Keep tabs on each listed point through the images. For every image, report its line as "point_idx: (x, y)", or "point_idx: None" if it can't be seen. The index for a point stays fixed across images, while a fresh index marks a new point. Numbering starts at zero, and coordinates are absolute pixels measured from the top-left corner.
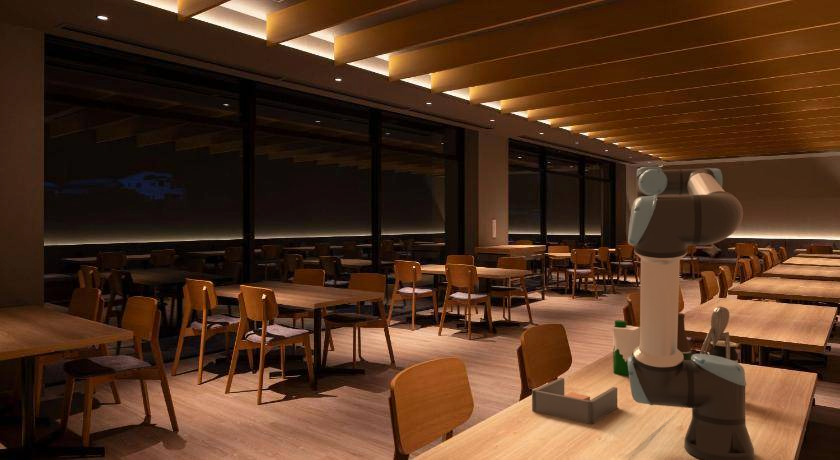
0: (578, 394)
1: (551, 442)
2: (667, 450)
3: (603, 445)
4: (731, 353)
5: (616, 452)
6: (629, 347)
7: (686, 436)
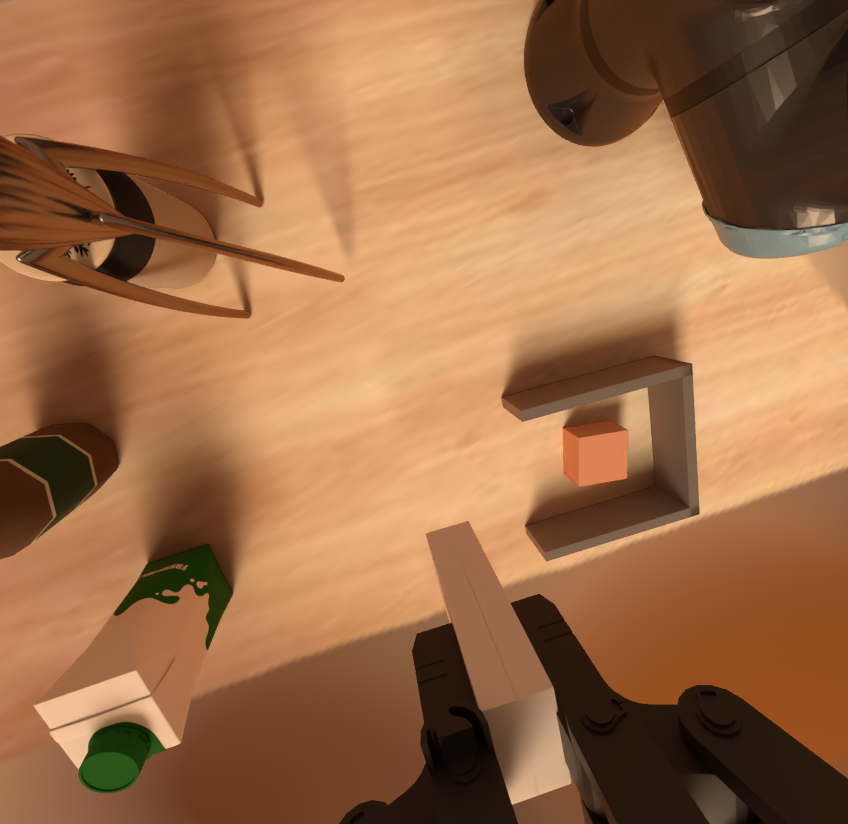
0: (583, 466)
1: (798, 336)
2: None
3: None
4: None
5: None
6: (178, 623)
7: (643, 121)
